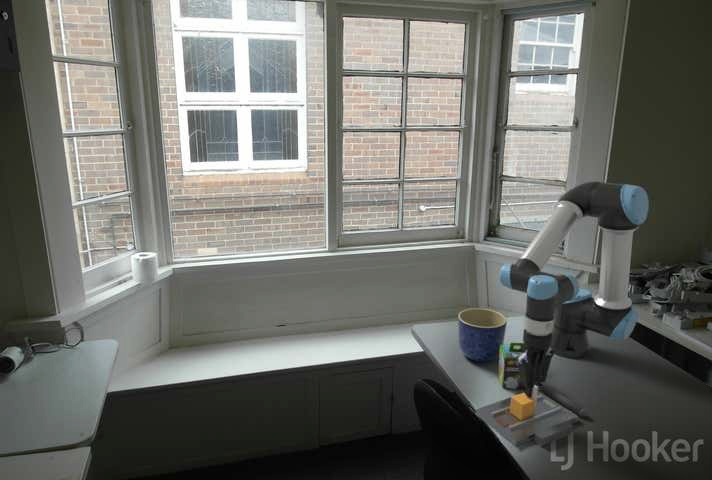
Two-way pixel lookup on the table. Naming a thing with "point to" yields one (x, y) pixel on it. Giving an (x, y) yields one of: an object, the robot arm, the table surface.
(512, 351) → the chalk box
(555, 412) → the breaker panel
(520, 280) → the robot arm
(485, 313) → the planter
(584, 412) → the dark grey rod
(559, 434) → the grey bar
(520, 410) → the block
